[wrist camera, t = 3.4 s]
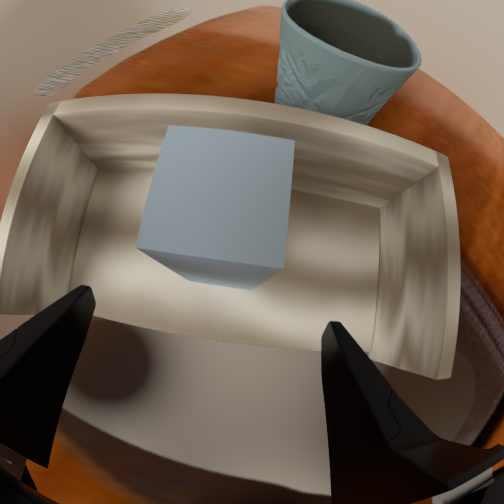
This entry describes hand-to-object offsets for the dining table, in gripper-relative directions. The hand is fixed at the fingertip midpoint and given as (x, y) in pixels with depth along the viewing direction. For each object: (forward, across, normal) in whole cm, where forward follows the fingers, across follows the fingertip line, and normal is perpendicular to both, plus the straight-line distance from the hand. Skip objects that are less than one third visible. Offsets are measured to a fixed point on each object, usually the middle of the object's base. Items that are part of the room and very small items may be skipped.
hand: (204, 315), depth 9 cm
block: (+10, 0, +4) cm, 11 cm away
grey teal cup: (+21, -6, -5) cm, 23 cm away
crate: (+10, 0, +5) cm, 11 cm away
